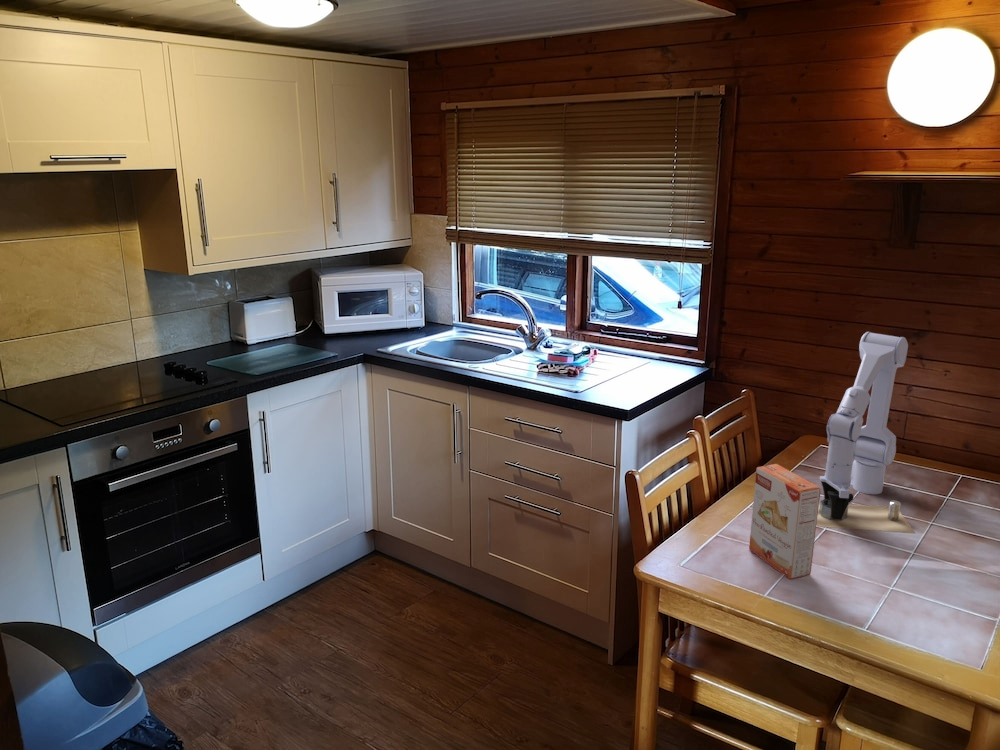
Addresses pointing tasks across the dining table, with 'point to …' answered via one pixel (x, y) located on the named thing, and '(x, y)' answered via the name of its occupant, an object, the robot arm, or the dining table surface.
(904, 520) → the board
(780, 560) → the cracker box
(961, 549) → the dining table surface
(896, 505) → the steel post
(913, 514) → the dining table surface
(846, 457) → the robot arm
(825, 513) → the ring hub
